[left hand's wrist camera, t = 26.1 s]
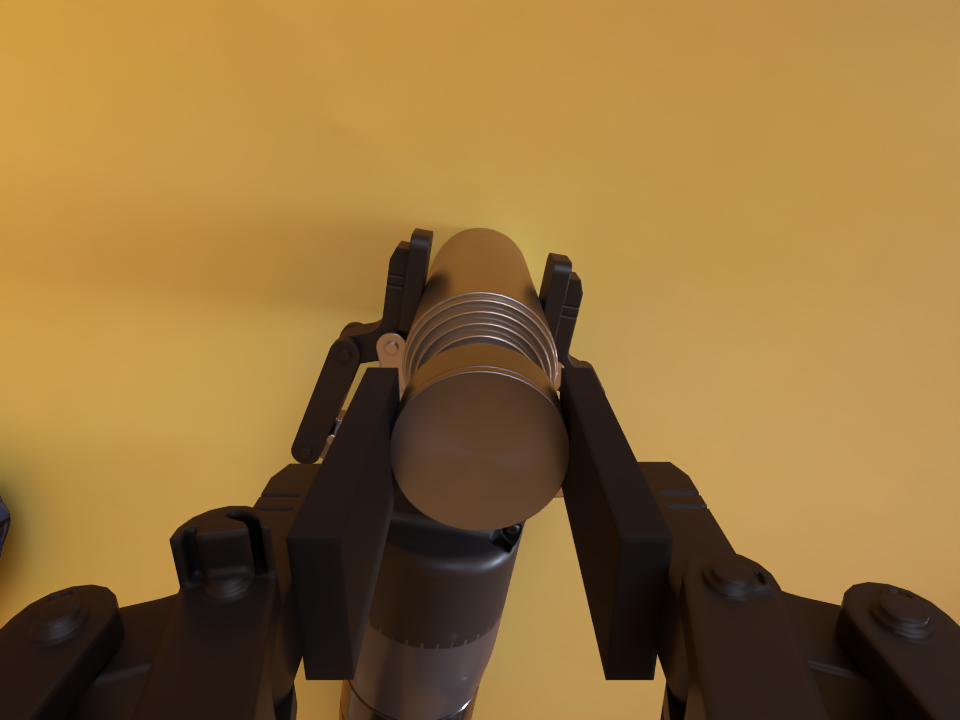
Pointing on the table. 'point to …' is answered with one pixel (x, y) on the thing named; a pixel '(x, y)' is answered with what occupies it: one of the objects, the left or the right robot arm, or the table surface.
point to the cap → (479, 438)
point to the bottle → (480, 304)
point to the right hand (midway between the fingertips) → (491, 247)
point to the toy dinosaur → (3, 523)
